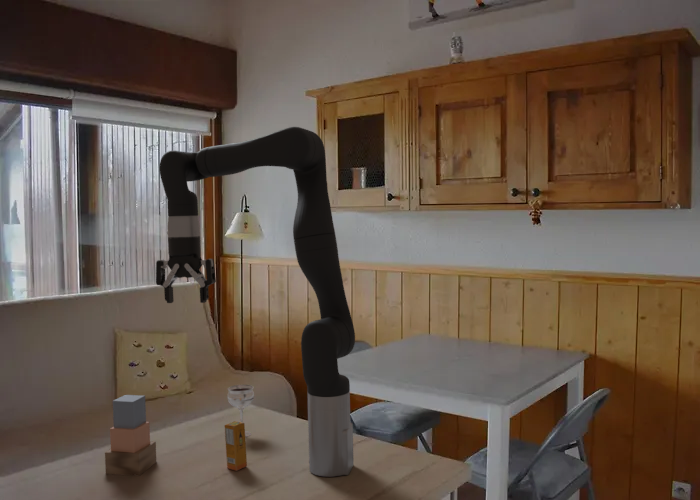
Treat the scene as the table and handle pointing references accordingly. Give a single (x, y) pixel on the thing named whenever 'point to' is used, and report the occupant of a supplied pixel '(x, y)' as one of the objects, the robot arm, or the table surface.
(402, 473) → the table surface
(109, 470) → the base block
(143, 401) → the slate block
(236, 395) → the wineglass
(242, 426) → the supplement box
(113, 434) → the top block
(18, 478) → the table surface
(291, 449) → the table surface
